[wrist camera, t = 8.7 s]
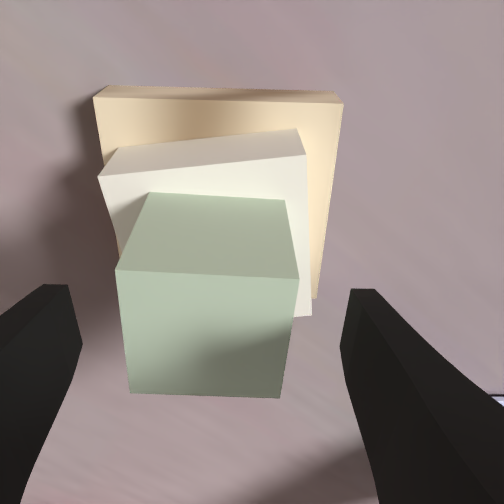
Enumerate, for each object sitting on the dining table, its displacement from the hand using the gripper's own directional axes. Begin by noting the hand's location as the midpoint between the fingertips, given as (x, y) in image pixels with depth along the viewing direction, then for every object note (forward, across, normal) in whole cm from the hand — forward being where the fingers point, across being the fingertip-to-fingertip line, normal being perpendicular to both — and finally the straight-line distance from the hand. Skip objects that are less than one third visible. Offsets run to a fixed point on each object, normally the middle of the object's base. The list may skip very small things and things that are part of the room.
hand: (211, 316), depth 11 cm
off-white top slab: (+6, 0, 0) cm, 6 cm away
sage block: (+3, 0, 0) cm, 3 cm away
